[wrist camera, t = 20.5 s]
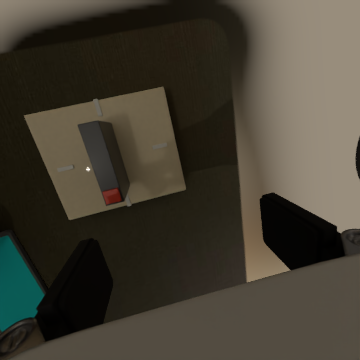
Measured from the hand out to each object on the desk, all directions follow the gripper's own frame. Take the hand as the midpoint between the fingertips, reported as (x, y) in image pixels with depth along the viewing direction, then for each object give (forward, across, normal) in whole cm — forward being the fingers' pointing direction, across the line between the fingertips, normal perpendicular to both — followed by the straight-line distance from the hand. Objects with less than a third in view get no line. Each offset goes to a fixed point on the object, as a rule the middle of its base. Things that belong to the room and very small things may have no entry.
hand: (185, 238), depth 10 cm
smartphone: (+12, +22, +9) cm, 26 cm away
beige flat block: (+12, +5, -4) cm, 14 cm away
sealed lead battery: (+9, +5, -4) cm, 11 cm away
